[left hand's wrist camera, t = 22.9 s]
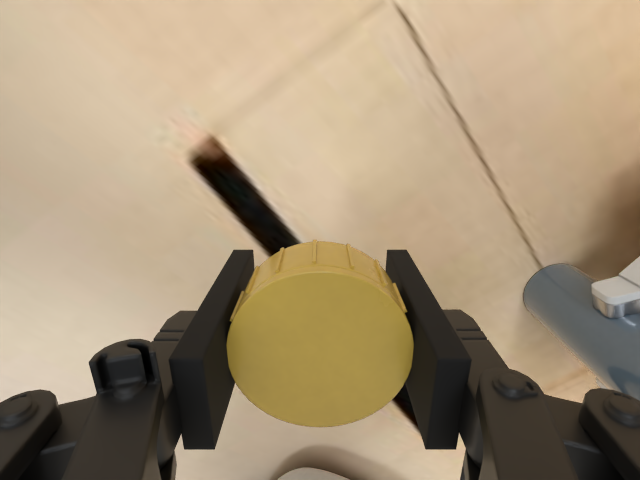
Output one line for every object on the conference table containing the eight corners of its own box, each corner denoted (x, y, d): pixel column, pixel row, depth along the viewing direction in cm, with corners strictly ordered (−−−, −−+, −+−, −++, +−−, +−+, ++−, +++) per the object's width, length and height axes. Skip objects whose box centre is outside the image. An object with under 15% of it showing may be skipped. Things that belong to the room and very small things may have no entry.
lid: (345, 398, 14) (350, 452, 12) (215, 337, 13) (194, 383, 11) (431, 288, 12) (455, 327, 10) (288, 209, 11) (281, 233, 9)
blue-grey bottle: (531, 261, 27) (780, 442, 12) (594, 264, 27) (910, 447, 13) (516, 316, 28) (719, 532, 14) (574, 319, 28) (834, 535, 14)
